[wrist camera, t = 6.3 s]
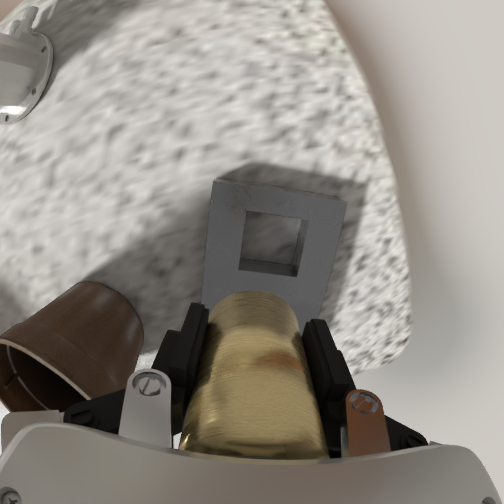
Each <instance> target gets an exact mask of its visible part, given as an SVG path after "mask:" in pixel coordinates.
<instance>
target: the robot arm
mask: <svg viewBox="0 0 504 504" xmlns="http://www.w3.org/2000/svg"><path fill="white" fill-rule="evenodd" d="M38 10H39V8H38V7H34V6H32V7H28V8H27V9H26V11H25V13H24V15H23V18H22V22H21V21H19V20H16V21H13V23H12V26H11V28H10V32H9V35H7V34H4V33H0V124H4V125H7V124H13V123H16V122H18V121H19V120H21V119H22V118H24V117H25V116H26V115H27V114H28V113H29V112H30V111H31V109H32V108H33V107H34V106H35V104H36V103H37V101H38V100H39V98H40V97H41V95H42V93H43V91H44V89H45V87H46V84H47V82H48V79H49V76H50V73H51V69H52V64H53V47H52V44H51V41H50V40H49V38H48V37H47V36H45V35H43V34H41V33H37V32H33V33H32V31H33V28H31V26H32V24H33V21H34V20H35V18H36V15H37V12H38ZM19 27H20V28H19ZM208 320H209V309H207V308H205V305H204V304H198V303H191V305H190V308H189V311H188V313H187V316H186V319H185V321H184V324H183V327H182V329H181V332H179V331H174V330H168V331H167V332H166V335H165V337H164V339H163V341H162V344H161V346H160V348H159V351H158V353H157V355H156V358H155V360H154V362H153V365H152V367H151V369H141V370H138V371H136V372H134V373H133V374H132V375H131V376H130V377H129V379H128V382H127V387H126V388H125V389H122V390H119V391H116V392H112V393H109V394H106V395H103V396H100V397H97V398H93V399H90V400H87V401H83V402H80V403H76V404H74V405H72V406H70V407H69V408H68V409H67V410H66V411H65V412H62V413H59V411H58V410H48V411H29V412H12V413H9V414H7V415H6V416H5V417H4V418H3V420H2V424H1V444H2V454H1V456H0V504H502V502H501V499H500V497H499V495H498V492H497V490H496V488H495V486H494V484H493V482H492V480H491V478H490V476H489V474H488V472H487V471H486V469H485V467H484V466H483V464H482V463H481V461H480V460H479V459H478V457H477V456H476V455H475V454H474V453H473V452H472V451H471V450H469V449H468V448H465V447H461V446H456V445H443V444H439V443H436V442H432V441H430V442H429V443H427V441H426V439H425V438H424V437H423V435H421V434H420V433H418V432H416V431H414V430H412V429H410V428H408V427H407V426H405V425H403V424H401V423H399V422H397V421H395V420H393V419H391V418H390V417H388V416H386V415H384V411H383V406H382V403H381V400H380V399H379V398H378V397H377V396H376V395H375V394H373V393H372V392H370V391H367V390H361V389H356V387H355V385H354V382H353V379H352V377H351V374H350V372H349V369H348V367H347V364H346V362H345V359H344V357H343V354H342V352H341V351H340V350H337V348H336V346H335V343H334V341H333V338H332V336H331V333H330V331H329V328H328V326H327V323H326V321H325V320H322V319H311V320H310V322H308V321H307V322H306V324H305V327H304V330H303V334H302V337H301V338H302V342H303V346H304V350H305V354H306V358H307V362H308V366H309V370H310V374H311V378H312V382H313V387H314V391H315V395H316V399H317V403H318V408H319V412H320V416H321V421H322V425H323V430H324V434H325V439H326V443H327V448H328V452H329V457H330V459H314V460H267V459H249V458H237V457H226V456H218V455H210V454H203V453H196V452H190V451H184V450H179V449H174V435H176V434H178V433H180V432H182V429H183V425H184V420H185V415H186V411H187V406H188V402H189V398H190V395H191V392H192V390H193V386H194V382H195V378H196V373H197V369H198V364H199V360H200V356H201V351H202V347H203V343H204V339H205V335H206V330H207V326H208Z"/></svg>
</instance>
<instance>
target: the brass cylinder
mask: <svg viewBox="0 0 504 504" xmlns="http://www.w3.org/2000/svg"><path fill="white" fill-rule="evenodd" d="M178 449H179V450H184V451H190V452H196V453H203V454H210V455H218V456H226V457H237V458H249V459H267V460H314V459H330V457H329V452H328V448H327V443H326V439H325V434H324V430H323V425H322V421H321V416H320V412H319V408H318V403H317V399H316V395H315V391H314V387H313V382H312V378H311V374H310V370H309V366H308V362H307V358H306V354H305V350H304V346H303V342H302V338H301V334H300V330H299V326H298V322H297V318H296V315H295V313H294V311H293V310H292V308H291V307H290V306H289V305H288V304H287V303H286V302H285V301H284V300H283V299H281V298H279V297H278V296H276V295H274V294H271V293H268V292H264V291H256V290H248V291H241V292H237V293H234V294H232V295H229V296H227V297H226V298H224V299H223V300H221V301H220V302H219V303H218V304H217V305H216V306H215V307H214V308H213V310H212V311H211V313H210V315H209V320H208V326H207V330H206V335H205V339H204V343H203V347H202V351H201V356H200V360H199V364H198V369H197V373H196V378H195V382H194V386H193V390H192V392H191V395H190V398H189V402H188V406H187V411H186V415H185V420H184V425H183V429H182V434H181V438H180V443H179V448H178Z"/></svg>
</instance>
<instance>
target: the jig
mask: <svg viewBox="0 0 504 504" xmlns="http://www.w3.org/2000/svg"><path fill="white" fill-rule="evenodd" d="M346 205H347V202H345V201H343V200H341V199H340V198H338V197H333V196H328V195H323V194H318V193H312V192H307V191H301V190H295V189H290V188H283V187H277V186H271V185H264V184H258V183H251V182H244V181H237V180H229V179H221V178H216V179H215V180H214V181H213V187H212V195H211V203H210V212H209V221H208V230H207V239H206V249H205V260H204V270H203V282H202V294H201V304H204V305H205V308H207V309H209V315H210V313H211V311H212V310H213V308H214V307H215V306H216V305H217V304H218V303H219V302H220V301H221V300H223V299H224V298H226V297H227V296H229V295H232V294H234V293H237V292H241V291H248V290H256V291H264V292H268V293H271V294H274V295H276V296H278V297H279V298H281V299H283V300H284V301H285V302H286V303H287V304H288V305H289V306H290V307H291V308H292V310H293V311H294V313H295V315H296V318H297V322H298V326H299V330H300V334H301V337H302V334H303V330H304V327H305V324H306V322H307V321H308V322H310V320H311V319H318V316H319V312H320V309H321V305H322V302H323V298H324V295H325V291H326V288H327V284H328V280H329V277H330V273H331V269H332V265H333V261H334V257H335V253H336V249H337V245H338V241H339V237H340V232H341V228H342V224H343V219H344V215H345V210H346ZM247 211H253V212H260V213H266V214H273V215H280V216H286V217H293V218H299V219H302V220H301V225H300V230H299V235H298V240H297V245H296V250H295V255H294V260H293V264H292V265H286V264H278V263H271V262H263V261H255V260H248V259H240V254H241V247H242V240H243V233H244V226H245V219H246V212H247Z"/></svg>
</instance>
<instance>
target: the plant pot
mask: <svg viewBox="0 0 504 504" xmlns="http://www.w3.org/2000/svg"><path fill="white" fill-rule="evenodd" d="M143 340H144V332H143V327H142V324H141V321H140V319H139V317H138V315H137V313H136V311H135V310H134V308H133V307H132V306H131V304H130V303H129V302H128V301H127V299H126V298H124V297H123V296H122V295H121V294H120V293H119V292H117V291H112V290H110V289H108V288H106V287H105V286H104V285H103V284H101V283H97V282H82V283H79V284H76V285H74V286H72V287H71V288H70V289H68V290H67V291H66V292H65V293H63V294H62V295H60V296H59V297H58V298H56V299H55V300H53V301H52V302H51V303H49V304H48V305H47V306H45V307H44V308H42V309H41V310H40V311H38V312H37V313H36V314H34V315H33V316H31V317H30V318H29V319H27V320H26V321H25V322H23V323H19V324H16V325H14V326H13V327H11V328H10V329H9V330H7V331H6V332H5V333H3V334H2V335H1V336H0V401H1V402H2V404H3V405H4V406H5V407H6V408H7V409H8V411H9V412H10V413H12V412H29V411H48V410H58V411H59V413H62V412H65V411H66V410H67V409H68V408H69V407H70V406H72V405H74V404H76V403H80V402H83V401H87V400H90V399H93V398H97V397H100V396H103V395H106V394H109V393H112V392H116V391H119V390H122V389H125V388H126V387H127V382H128V379H129V377H130V376H131V375H132V374H133V373H134V371H135V367H136V364H137V360H138V357H139V354H140V351H141V349H142V345H143Z"/></svg>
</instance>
